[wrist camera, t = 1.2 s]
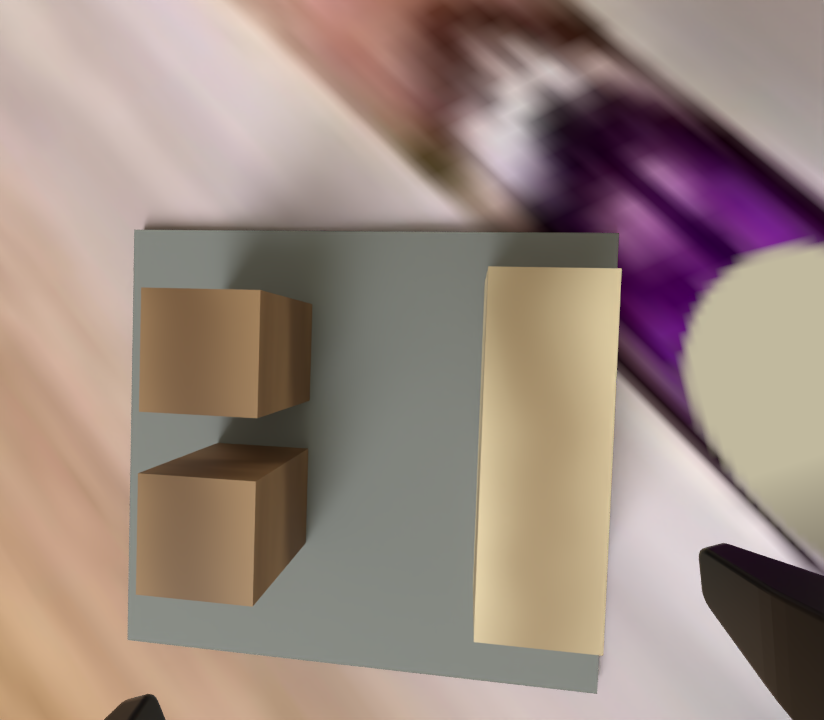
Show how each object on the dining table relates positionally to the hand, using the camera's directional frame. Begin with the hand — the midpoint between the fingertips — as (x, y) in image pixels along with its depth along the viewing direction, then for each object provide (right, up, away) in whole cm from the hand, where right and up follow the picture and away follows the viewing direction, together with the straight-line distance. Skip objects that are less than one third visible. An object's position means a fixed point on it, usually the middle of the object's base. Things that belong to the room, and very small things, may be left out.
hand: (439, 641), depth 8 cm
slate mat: (-3, +1, +13) cm, 13 cm away
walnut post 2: (-7, -1, +13) cm, 14 cm away
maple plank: (+4, +2, +11) cm, 12 cm away
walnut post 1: (-7, +5, +13) cm, 15 cm away
